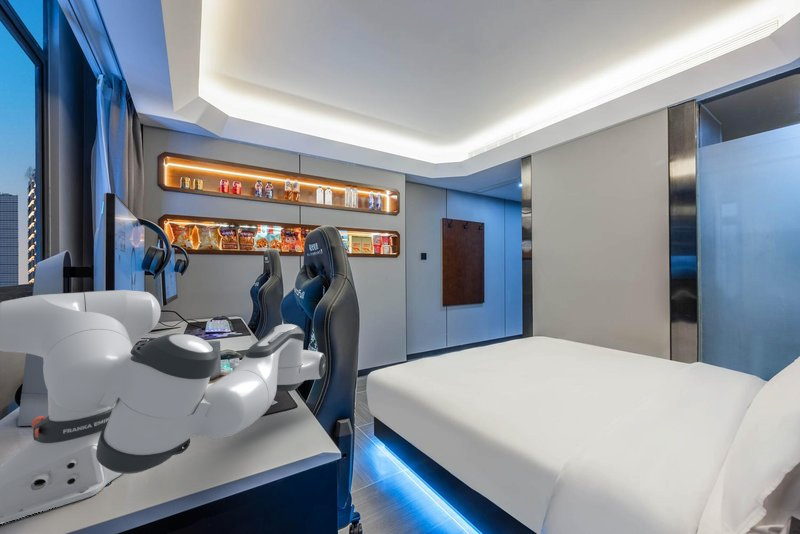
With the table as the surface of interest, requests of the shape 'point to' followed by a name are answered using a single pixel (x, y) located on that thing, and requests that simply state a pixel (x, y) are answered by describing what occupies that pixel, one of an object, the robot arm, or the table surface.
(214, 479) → the table surface
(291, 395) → the table surface
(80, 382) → the robot arm
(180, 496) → the table surface
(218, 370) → the grey upright cuboid
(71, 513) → the table surface
